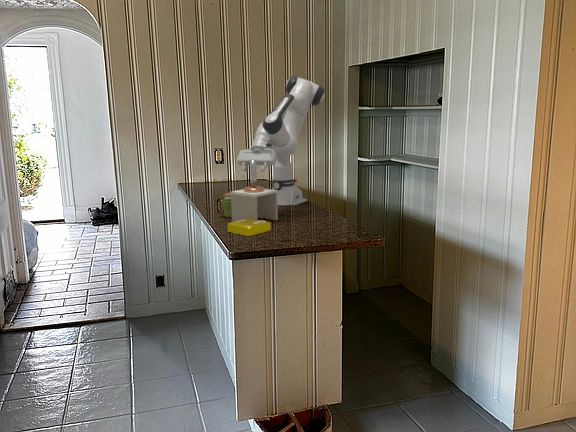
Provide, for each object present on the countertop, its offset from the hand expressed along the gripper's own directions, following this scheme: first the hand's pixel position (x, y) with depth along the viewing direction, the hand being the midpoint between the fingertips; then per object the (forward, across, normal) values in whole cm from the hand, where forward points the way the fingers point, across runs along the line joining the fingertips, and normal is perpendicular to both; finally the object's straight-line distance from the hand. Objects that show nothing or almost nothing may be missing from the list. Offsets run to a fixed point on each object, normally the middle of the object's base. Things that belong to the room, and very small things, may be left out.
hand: (253, 170), depth 256 cm
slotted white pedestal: (+20, +1, +14) cm, 25 cm away
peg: (+17, +1, +12) cm, 21 cm away
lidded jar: (-1, -24, +36) cm, 43 cm away
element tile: (+35, +7, 0) cm, 36 cm away
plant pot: (+15, -15, +20) cm, 29 cm away
